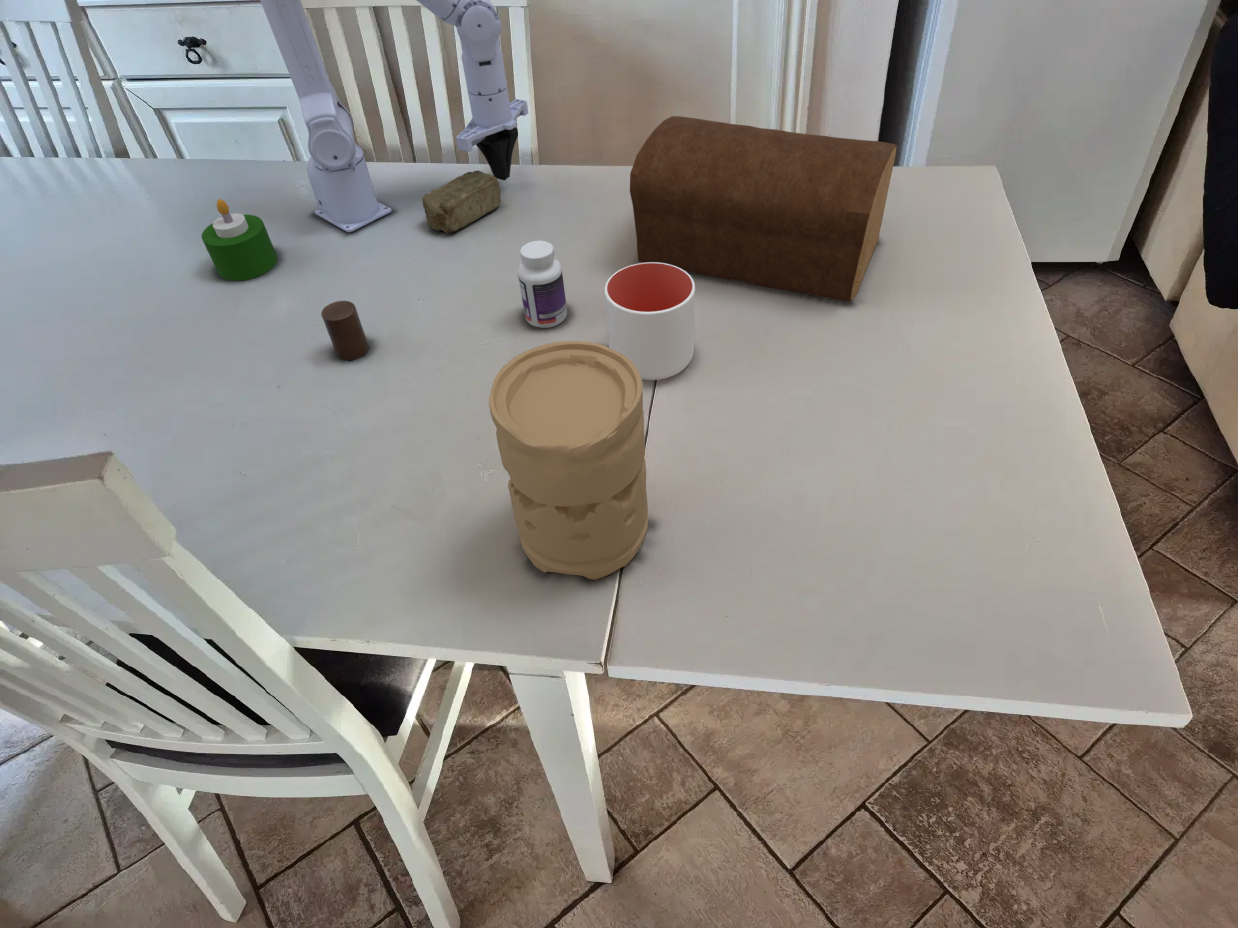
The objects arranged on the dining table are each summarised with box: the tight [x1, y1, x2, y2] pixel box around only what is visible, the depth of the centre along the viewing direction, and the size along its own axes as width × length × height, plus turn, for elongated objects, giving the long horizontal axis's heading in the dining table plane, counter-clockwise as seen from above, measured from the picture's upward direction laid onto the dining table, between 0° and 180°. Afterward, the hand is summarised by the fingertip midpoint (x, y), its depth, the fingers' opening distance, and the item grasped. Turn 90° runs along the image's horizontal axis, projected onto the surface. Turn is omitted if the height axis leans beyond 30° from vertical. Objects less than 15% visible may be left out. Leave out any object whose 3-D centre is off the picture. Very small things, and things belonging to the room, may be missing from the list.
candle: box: [201, 198, 278, 282], centre depth 112 cm, size 8×8×10 cm
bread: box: [629, 115, 897, 302], centre depth 105 cm, size 18×30×16 cm, turn 67°
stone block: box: [421, 170, 502, 234], centre depth 120 cm, size 6×12×5 cm, turn 140°
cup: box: [603, 262, 696, 381], centre depth 93 cm, size 10×10×10 cm
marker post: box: [320, 300, 370, 361], centre depth 98 cm, size 4×4×6 cm
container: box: [488, 340, 649, 581], centre depth 72 cm, size 13×13×18 cm
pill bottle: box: [517, 240, 568, 329], centre depth 100 cm, size 5×5×10 cm
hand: (502, 177), depth 126 cm, fingers closed
